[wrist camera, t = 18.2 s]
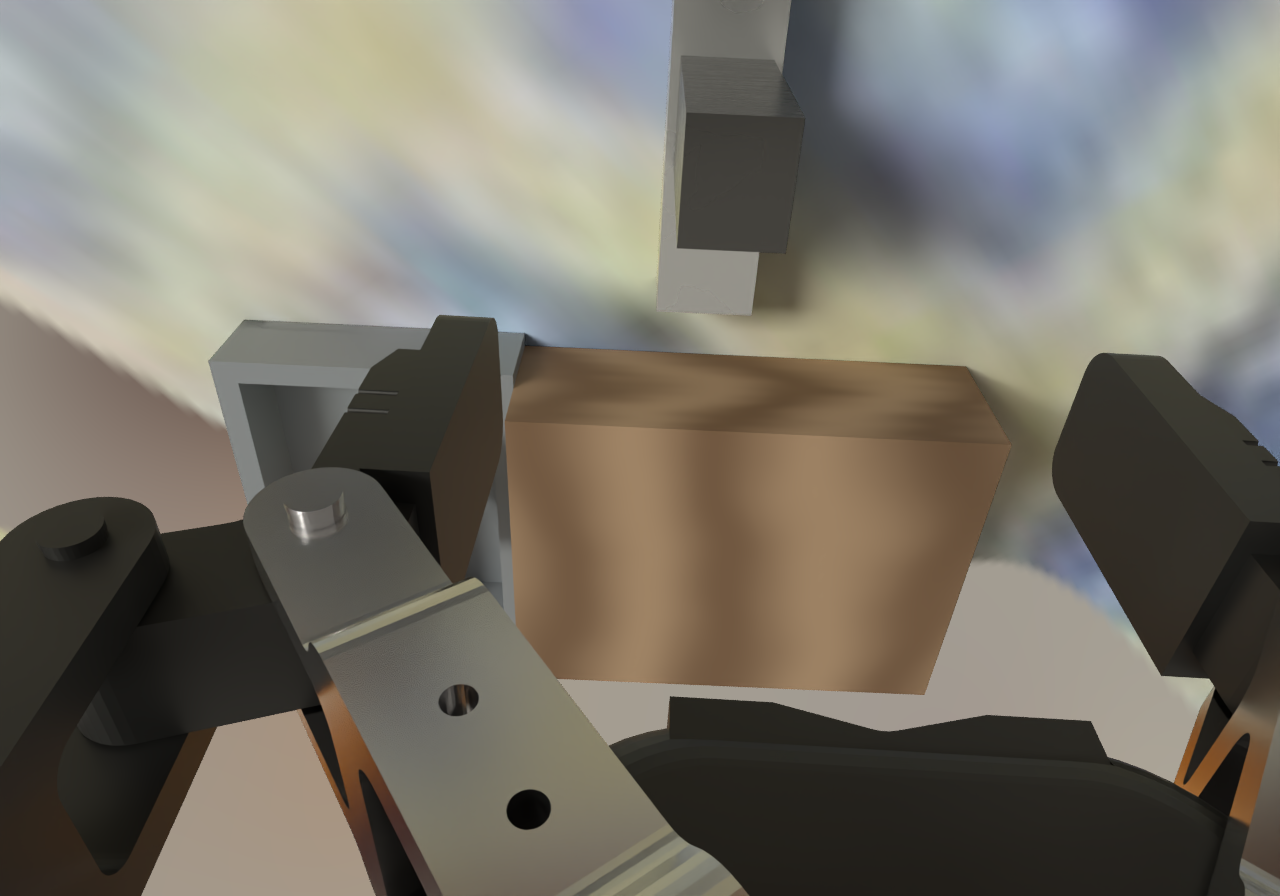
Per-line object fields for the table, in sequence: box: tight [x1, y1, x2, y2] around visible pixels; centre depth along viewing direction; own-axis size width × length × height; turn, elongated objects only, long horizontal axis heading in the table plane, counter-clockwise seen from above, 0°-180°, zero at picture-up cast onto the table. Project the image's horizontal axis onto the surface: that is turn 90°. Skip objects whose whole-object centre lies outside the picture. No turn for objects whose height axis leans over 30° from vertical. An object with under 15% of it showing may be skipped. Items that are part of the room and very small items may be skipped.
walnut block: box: [505, 346, 1011, 695], centre depth 33 cm, size 16×12×5 cm
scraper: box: [656, 0, 805, 316], centre depth 23 cm, size 3×12×9 cm, turn 177°
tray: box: [208, 320, 525, 625], centre depth 33 cm, size 10×12×3 cm
